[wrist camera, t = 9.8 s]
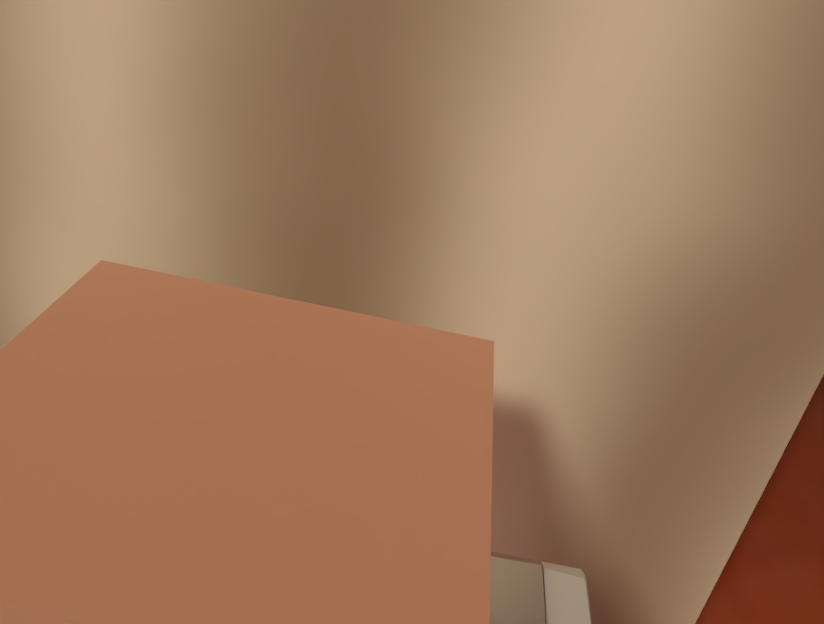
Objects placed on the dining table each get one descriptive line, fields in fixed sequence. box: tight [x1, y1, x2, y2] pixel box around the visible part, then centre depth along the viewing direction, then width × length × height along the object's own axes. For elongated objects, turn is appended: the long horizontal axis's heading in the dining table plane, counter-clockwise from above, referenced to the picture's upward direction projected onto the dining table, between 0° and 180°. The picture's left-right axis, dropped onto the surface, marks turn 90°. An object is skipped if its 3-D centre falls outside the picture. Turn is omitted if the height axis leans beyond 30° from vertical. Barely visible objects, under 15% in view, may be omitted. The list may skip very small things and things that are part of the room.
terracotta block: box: [0, 260, 494, 624], centre depth 9 cm, size 5×5×5 cm
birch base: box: [0, 0, 824, 624], centre depth 15 cm, size 16×16×4 cm
